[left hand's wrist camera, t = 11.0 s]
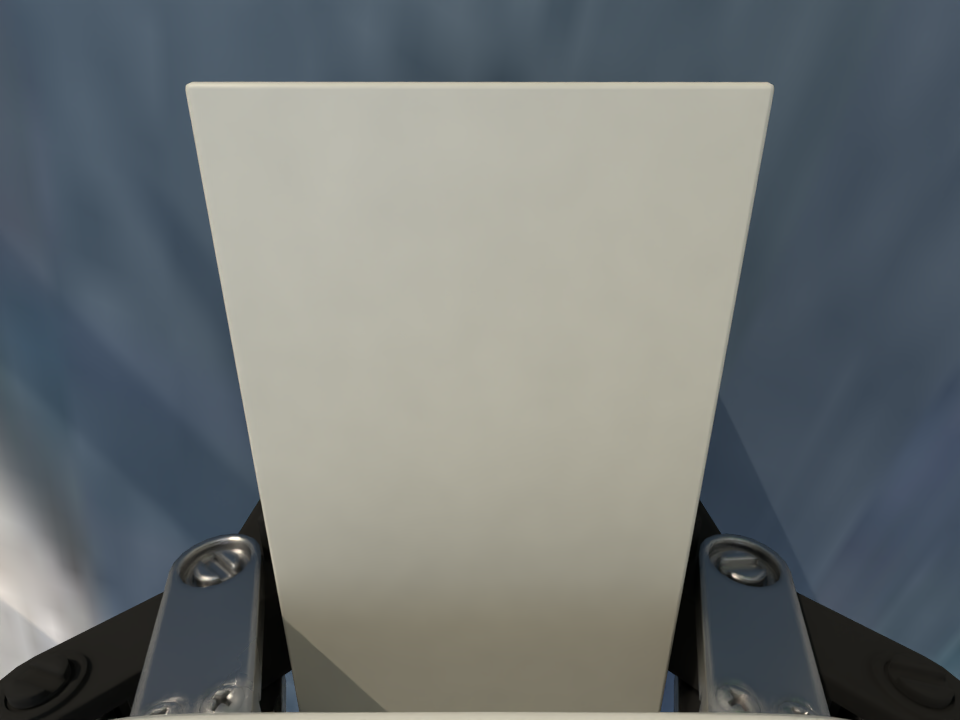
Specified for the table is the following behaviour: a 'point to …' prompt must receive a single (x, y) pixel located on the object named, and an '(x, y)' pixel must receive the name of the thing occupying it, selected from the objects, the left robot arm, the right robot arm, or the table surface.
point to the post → (479, 371)
